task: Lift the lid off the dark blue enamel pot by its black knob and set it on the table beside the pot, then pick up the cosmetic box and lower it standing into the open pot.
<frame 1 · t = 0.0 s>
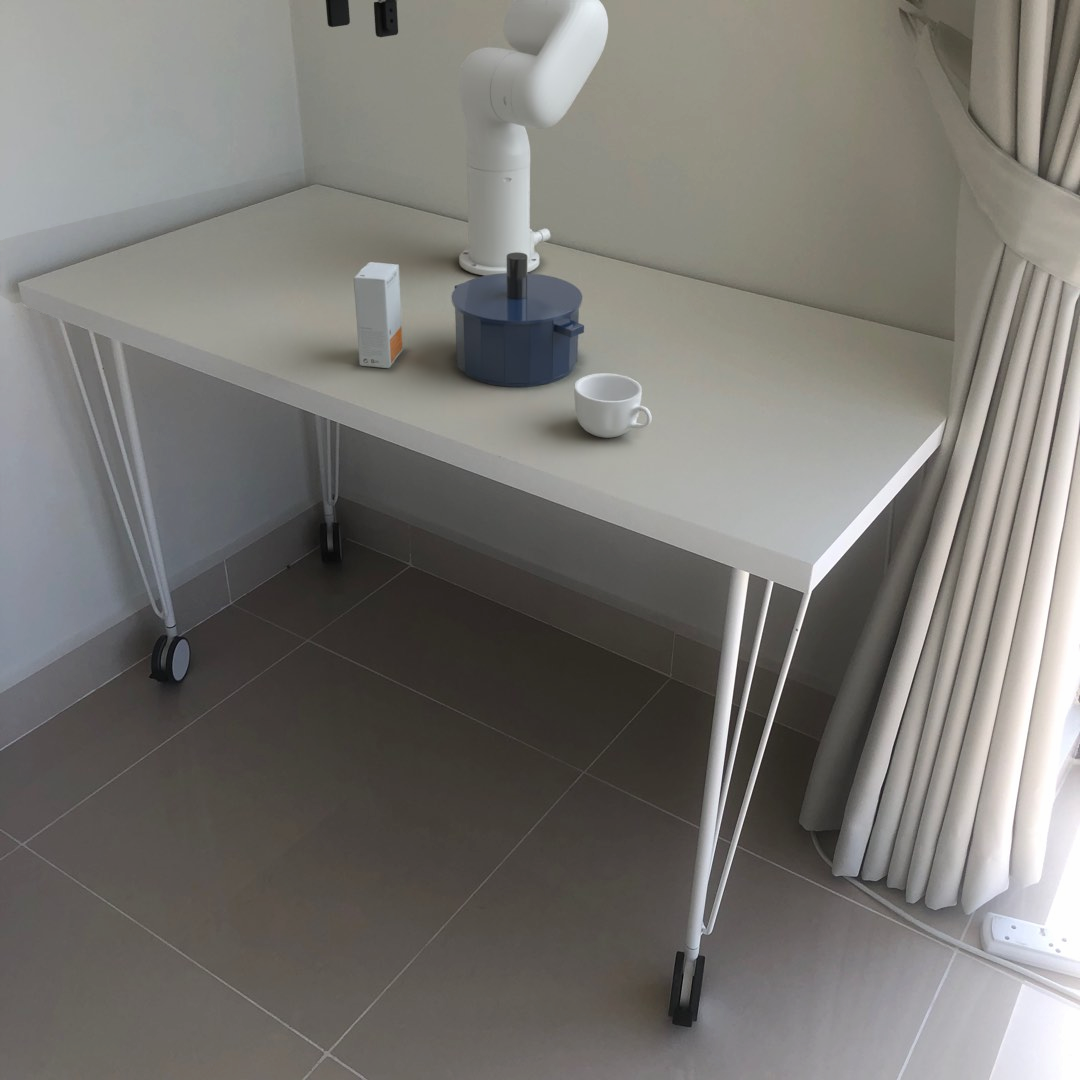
hand: (362, 30, 149), 37 cm above the table, tool pointing down, fingers open, 9 cm apart
pot: (517, 361, 153), on the table
pot lid: (517, 299, 148), point 8 cm above the table, touching pot
cosmetic box: (382, 359, 153), on the table
teacup: (613, 433, 136), on the table
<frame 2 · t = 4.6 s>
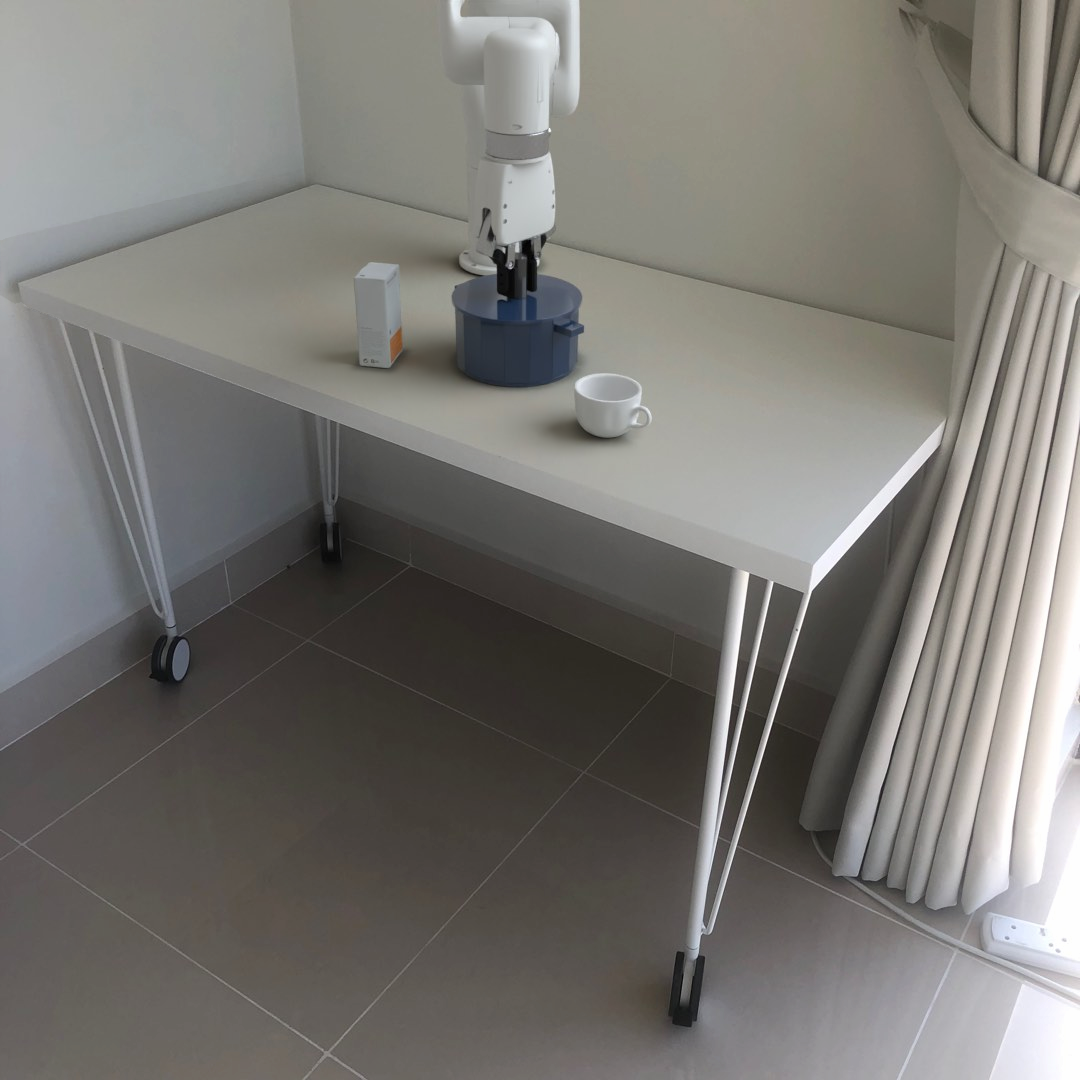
hand: (516, 291, 147), 10 cm above the table, tool pointing down, fingers closed on pot lid, 2 cm apart
pot lid: (517, 299, 148), point 9 cm above the table, touching gripper, pot
everything else where it was.
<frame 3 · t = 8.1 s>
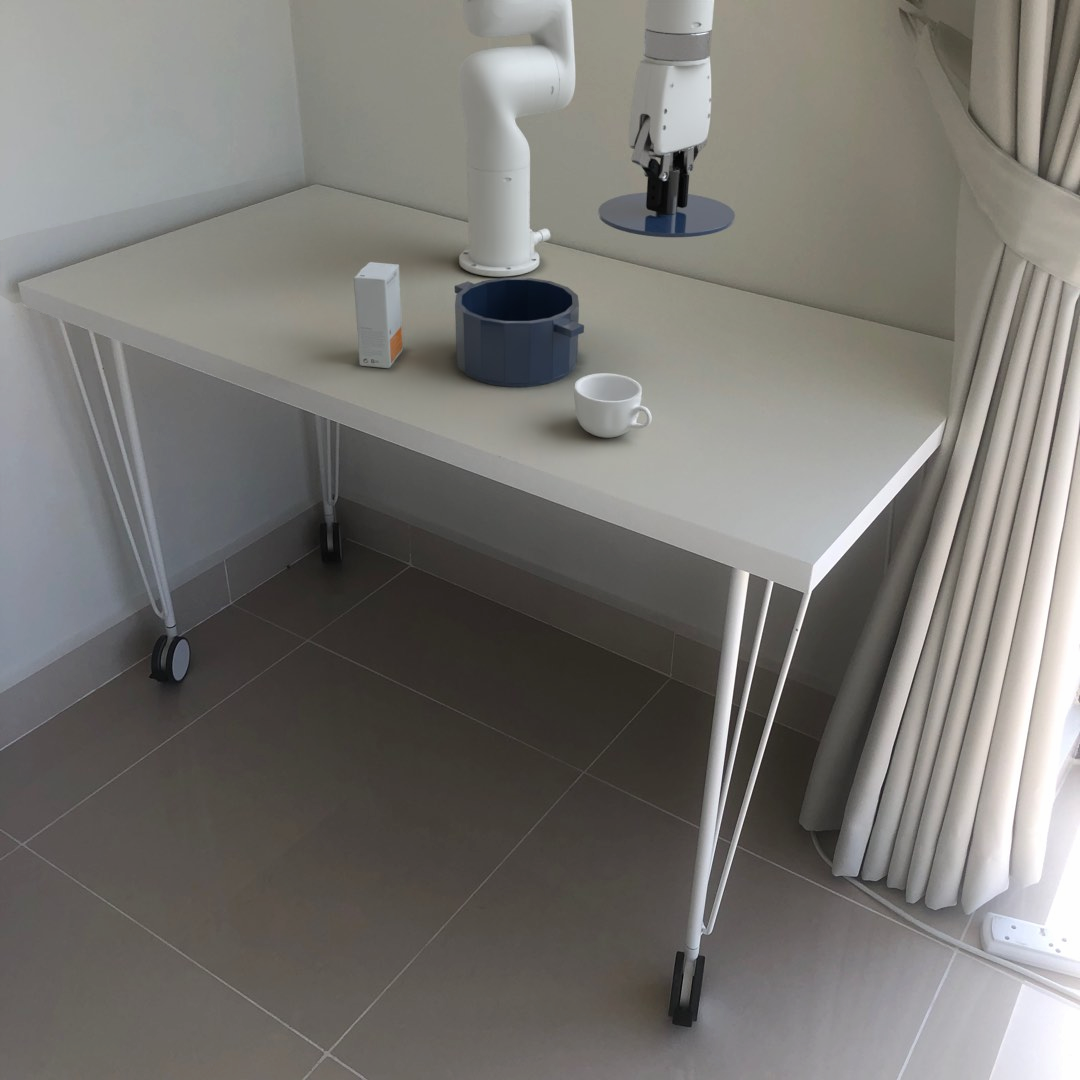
hand: (666, 206, 142), 20 cm above the table, tool pointing down, fingers closed on pot lid, 2 cm apart
pot lid: (666, 215, 142), point 19 cm above the table, touching gripper
everything else where it was.
when the fingers open (2 cm above the table, at t = 11.6 s): pot lid stays where it is, point 1 cm above the table.
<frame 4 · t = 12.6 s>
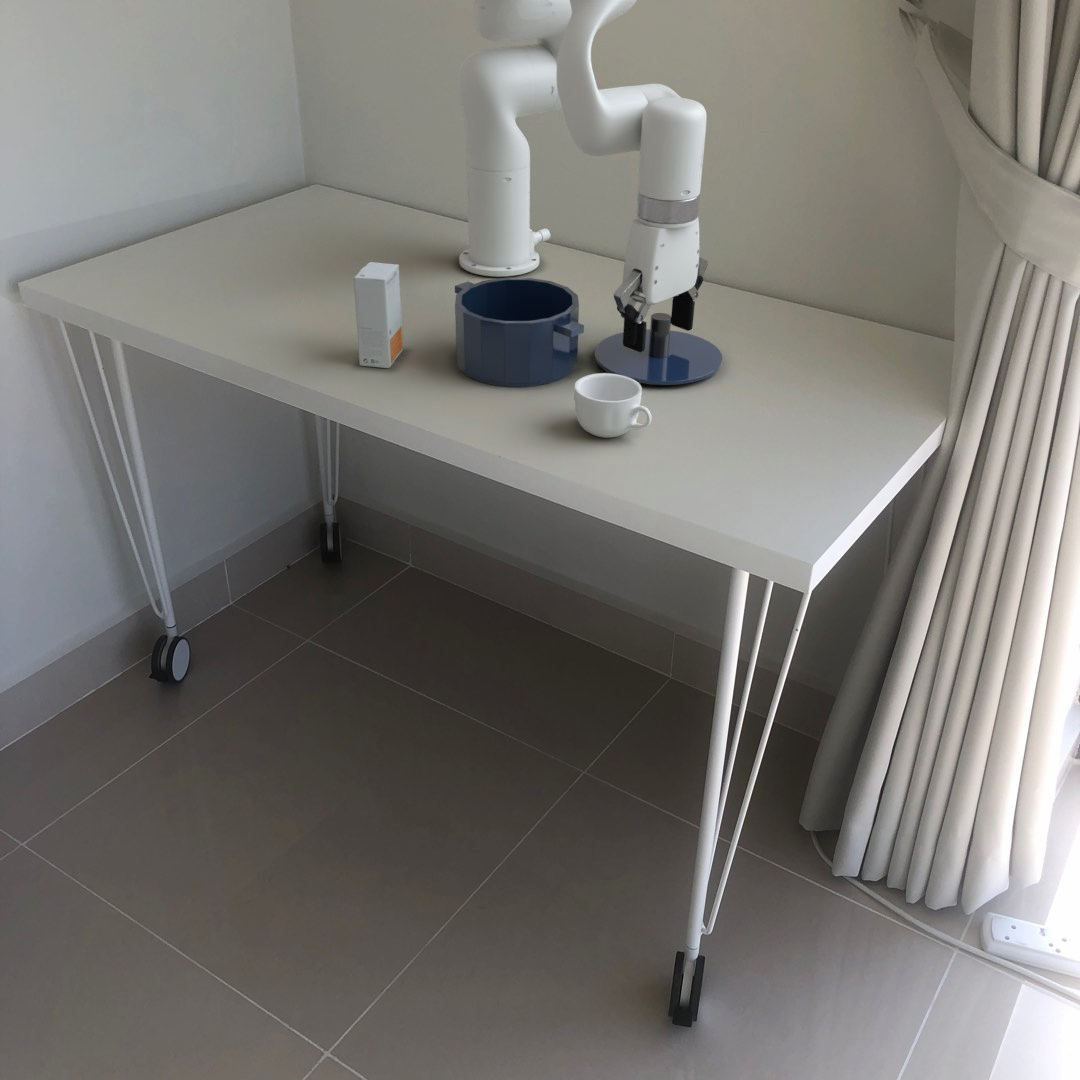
hand: (657, 337, 151), 3 cm above the table, tool pointing down, fingers open, 9 cm apart
pot lid: (658, 357, 152), point 1 cm above the table
everything else where it was.
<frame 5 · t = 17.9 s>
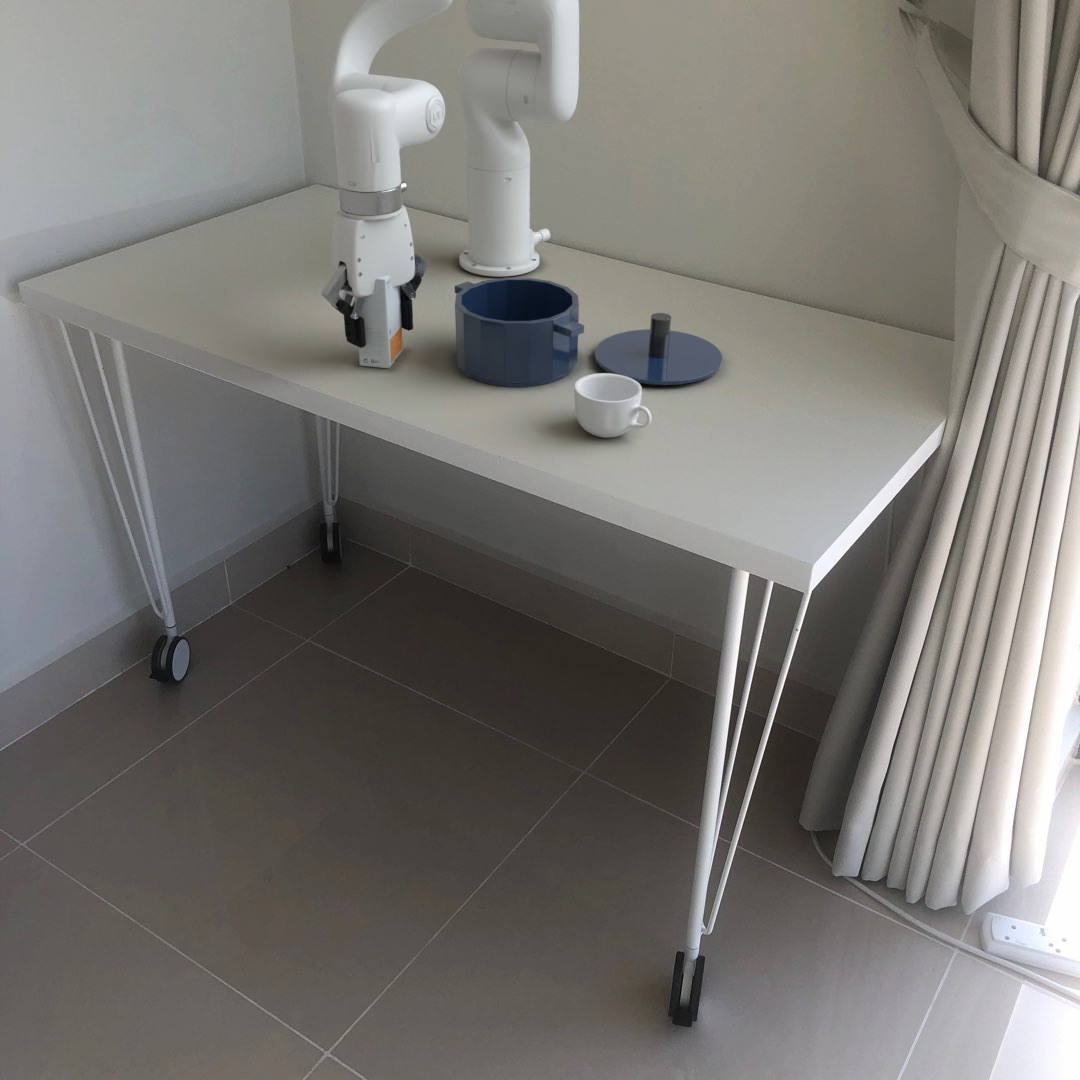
hand: (380, 334, 151), 3 cm above the table, tool pointing down, fingers closed on cosmetic box, 7 cm apart
cosmetic box: (382, 359, 153), on the table, touching gripper
everything else where it was.
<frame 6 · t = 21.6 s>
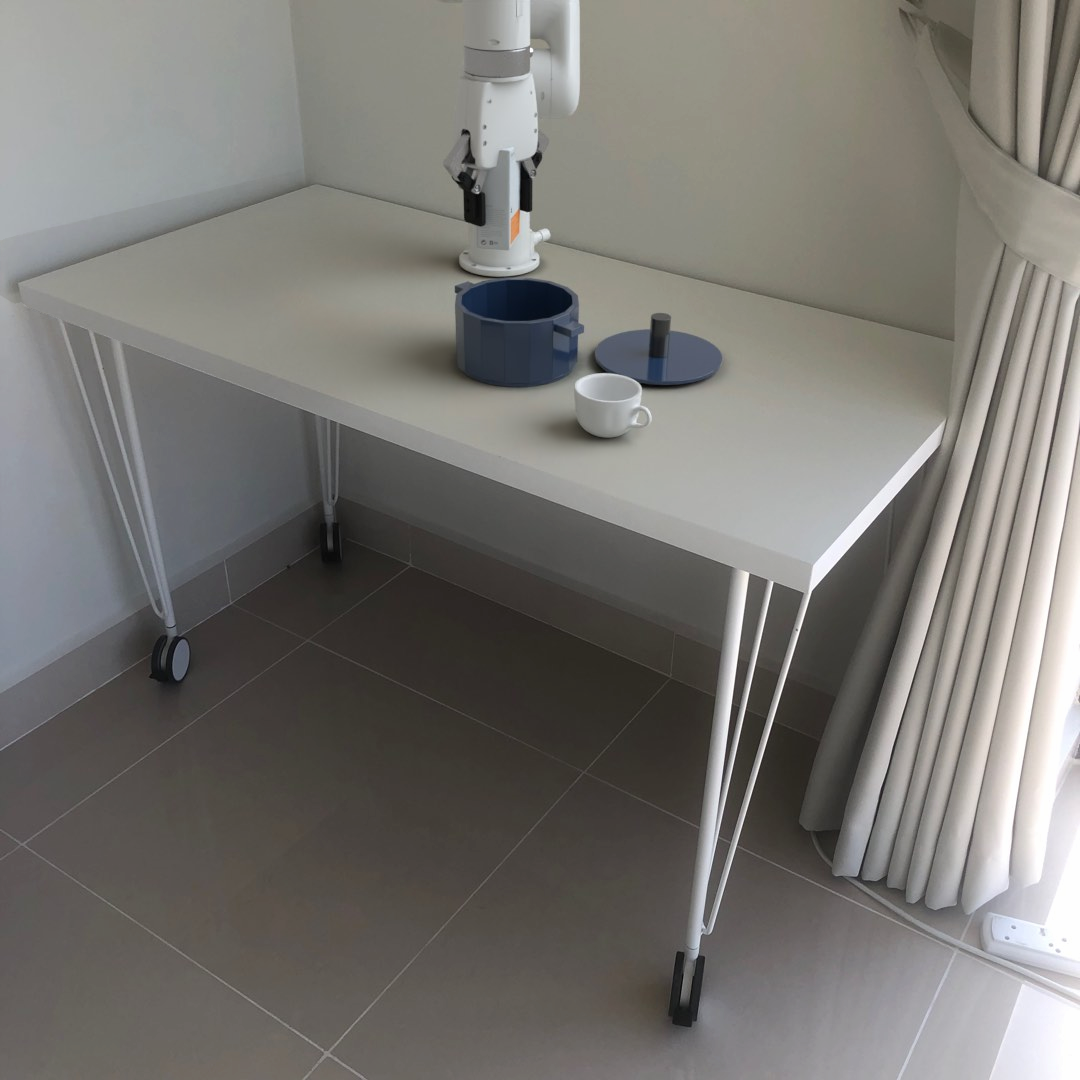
hand: (498, 215, 142), 19 cm above the table, tool pointing down, fingers closed on cosmetic box, 7 cm apart
cosmetic box: (499, 243, 144), point 16 cm above the table, touching gripper
everything else where it was.
when the fingers open (4 cm above the table, at t = 25.7 s): cosmetic box stays where it is, resting on pot.
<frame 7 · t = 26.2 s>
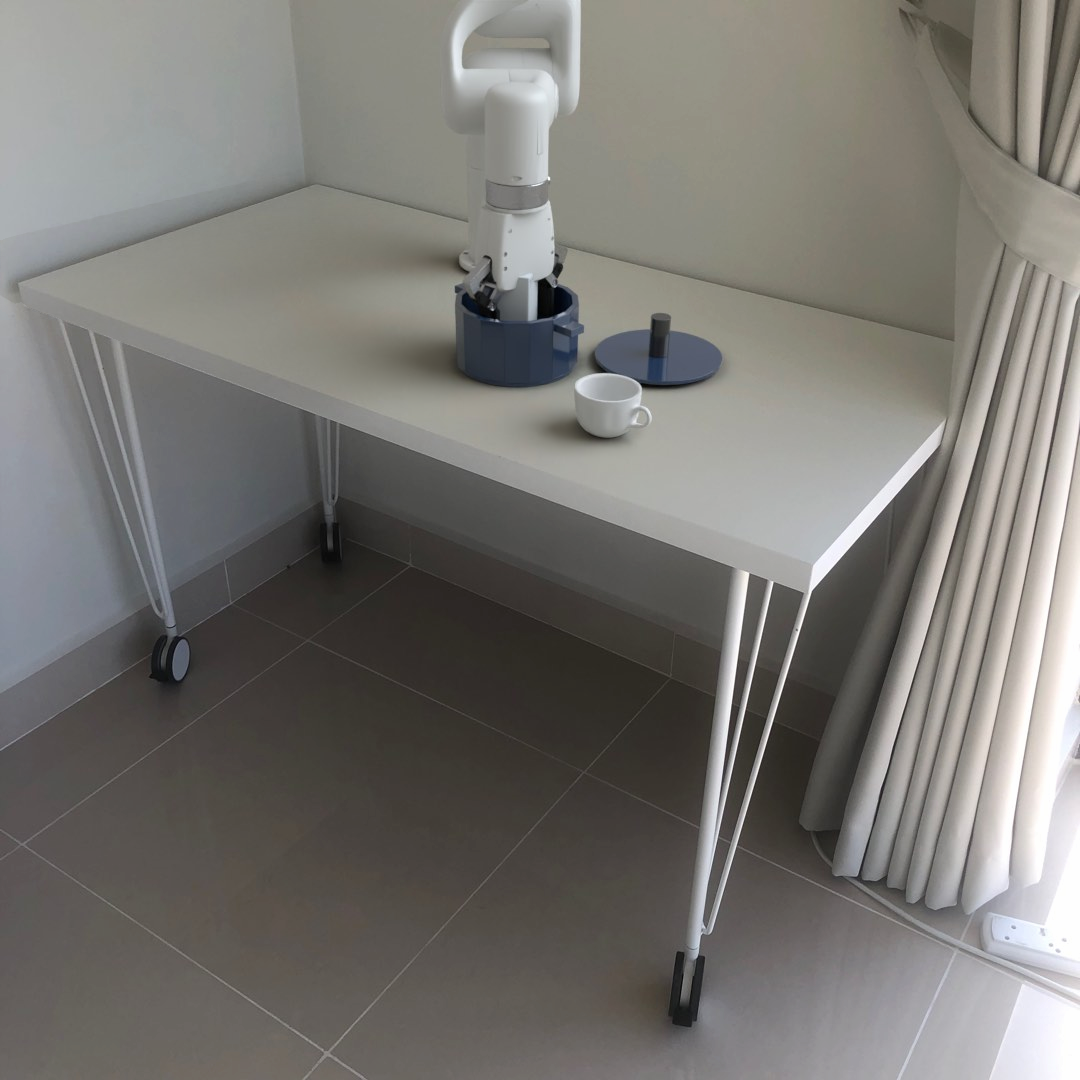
hand: (516, 325, 150), 5 cm above the table, tool pointing down, fingers open, 9 cm apart
cosmetic box: (517, 358, 152), resting on pot
everything else where it was.
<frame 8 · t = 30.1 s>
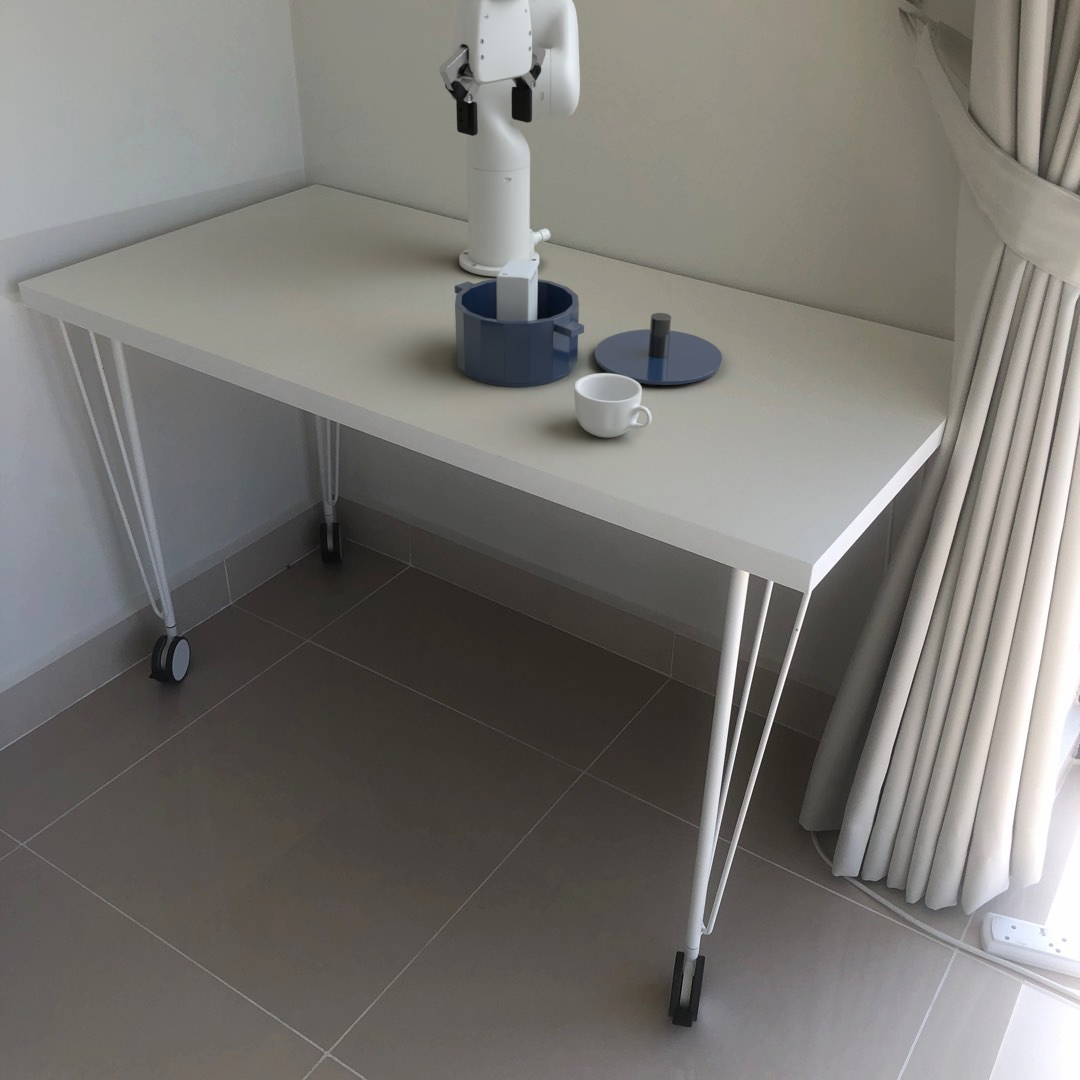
hand: (495, 126, 150), 26 cm above the table, tool pointing down, fingers open, 9 cm apart
nothing on the table moved.
at the end: pot lid inside the target area (0.1 cm from its centre), point 0.6 cm above the table; cosmetic box inside the target area in the pot (0.1 cm from its centre), point 0.3 cm above the pot's base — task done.
